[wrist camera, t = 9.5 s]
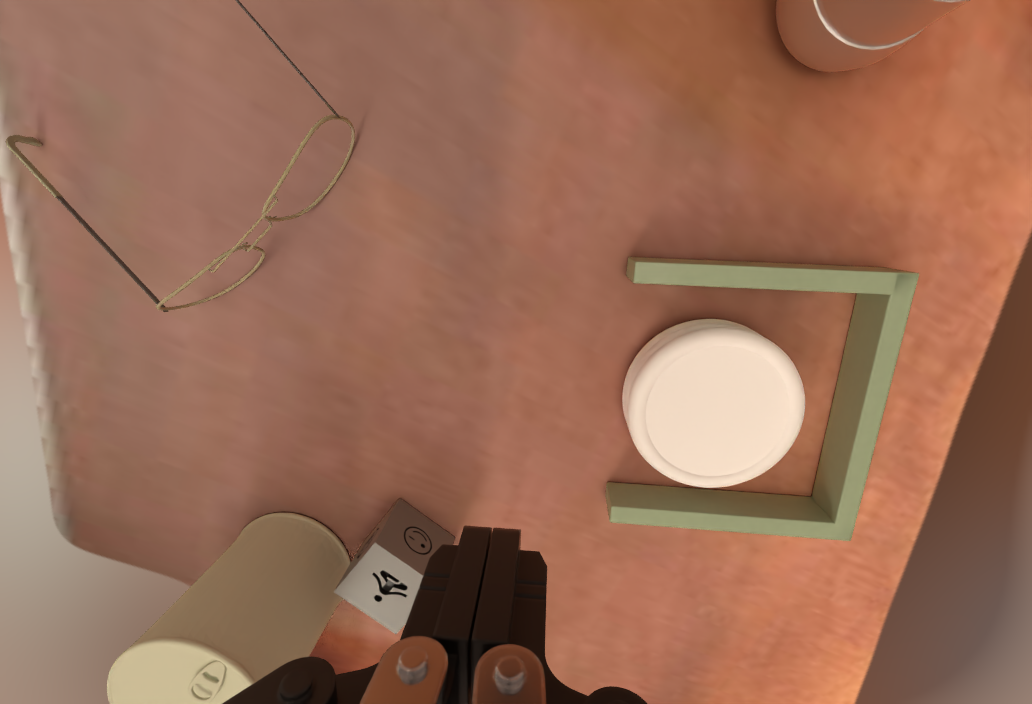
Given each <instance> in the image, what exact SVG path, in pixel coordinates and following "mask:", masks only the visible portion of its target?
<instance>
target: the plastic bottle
mask: <svg viewBox="0 0 1032 704" xmlns="http://www.w3.org/2000/svg"><path fill="white" fill-rule="evenodd" d="M968 1H970V0H777V1H776V21H777V26H778V31H779V34H780V37H781V39H782V42H783V44H784V45H785V47H786V48H787V50H788V51H789V53H790V54H791V55H792V56H793V57H794V58H795V59H796V60H797V61H799V62H800V63H802V64H804V65H805V66H807V67H809V68H812V69H815V70H818V71H823V72H839V71H847V70H853V69H860V68H863V67H866V66H869V65H872V64H875V63H877V62H879V61H881V60H882V59H884V58H886V57H888V56H889V55H891V54H892V53H894V52H895V51H897V50H898V49H900V48H901V47H902V46H904V45H905V44H906V43H908V42H909V41H910V40H912V39H913V38H914V37H915V36H917V35H918V34H919V33H920V32H921V31H922V30H924V29H925V28H926V27H927V26H929V25H930V24H932V23H934V22H935V21H937V20H938V19H940V18H942V17H943V16H945V15H947V14H948V13H950V12H951V11H953V10H955V9H956V8H958V7H959V6H961V5H963V4H964V3H966V2H968Z"/></svg>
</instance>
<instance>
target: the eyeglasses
mask: <svg viewBox="0 0 1032 704" xmlns="http://www.w3.org/2000/svg"><path fill="white" fill-rule="evenodd" d="M236 2H237V3H238V4H239V5H240V6H241V7H242V8H243V10H244V11H245V12H246V13H247V14H248V15H249V16H250V18H251V19H252V20H253V21H254V22H255V23H256V24H257V26H258V27H259V28H260V29H261V30H262V31H263V33H264V34H265V35H266V36H267V37H268V38H269V39H270V41H271V42H272V43H273V44H274V45H275V46H276V47H277V49H278V50H279V51H280V52H281V53H282V54H283V56H284V57H285V58H286V59H287V60H288V61H289V62H290V64H291V65H292V66H293V67H294V68H295V69H296V70H297V72H298V73H299V74H300V75H301V76H302V77H303V78H304V80H305V81H306V82H307V83H308V84H309V85H310V87H311V88H312V89H313V90H314V91H315V92H316V93H317V95H318V96H319V97H320V98H321V99H322V100H323V101H324V102H325V104H326V105H327V106H328V107H329V108H330V110H331V111H332V112H333V113H334V114H336V115H329V116H326V117H324V118H322V119H321V120H319V121H318V122H317V123H316V124H315V125H314V126H313V127H312V129H311V130H310V131H309V132H308V134H307V135H306V137H305V138H304V140H303V141H302V143H301V144H300V146H299V148H298V149H297V151H296V153H295V154H294V156H293V158H292V160H291V161H290V163H289V165H288V166H287V168H286V170H285V171H284V173H283V175H282V176H281V178H280V180H279V181H278V183H277V184H276V186H275V188H274V189H273V191H272V193H271V194H270V196H269V198H268V199H267V201H266V203H265V205H264V207H263V210H262V216H261V217H260V218H259V219H258V221H257V222H256V223H255V224H254V225H253V226H252V227H251V228H250V230H249V231H248V232H247V233H246V234H245V235H244V236H243V237H242V238H241V240H240V241H239V242H238V243H237V244H236V245H235V246H234V247H233V248H232V249H230V250H228V251H227V252H225V253H223V254H222V255H220V256H219V257H218V258H216V259H215V260H214V261H212V262H211V263H210V264H209V265H207V266H206V267H205V268H204V269H202V270H201V271H200V272H199V273H197V274H196V275H195V276H194V277H193V278H191V279H190V280H189V281H187V282H186V283H185V284H183V285H182V286H181V287H179V288H178V289H176V290H175V291H174V292H172V293H171V294H170V295H168V296H167V297H166V298H164V299H163V300H162V301H159V300H158V299H157V298H156V296H155V295H154V294H153V293H152V292H151V291H150V290H149V289H148V288H147V287H146V286H145V285H144V284H143V283H142V282H141V281H140V279H139V278H138V277H137V276H136V275H135V274H134V273H133V272H132V271H131V270H130V269H129V268H128V267H127V266H126V265H125V263H124V262H123V261H122V260H121V259H120V258H119V257H118V256H117V255H116V254H115V253H114V252H113V251H112V250H111V249H110V247H109V246H108V245H107V244H106V243H105V242H104V241H103V240H102V239H101V238H100V237H99V236H98V235H97V234H96V233H95V231H94V230H93V229H92V228H91V227H90V226H89V225H88V224H87V223H86V222H85V221H84V220H83V219H82V218H81V217H80V215H79V214H78V213H77V212H76V211H75V210H74V209H73V208H72V207H71V206H70V205H69V204H68V203H67V202H66V201H65V199H64V198H63V196H62V195H61V194H60V193H59V192H58V191H57V190H56V189H55V188H54V187H53V186H52V185H51V184H50V183H49V182H48V181H47V179H46V178H45V177H44V176H43V175H42V174H41V173H40V172H39V171H38V170H37V169H36V168H35V167H34V166H33V165H32V163H31V162H30V161H29V160H28V159H27V158H26V157H25V156H24V155H23V154H22V153H21V152H20V151H19V150H18V149H17V147H16V146H15V142H22V143H26V144H31V145H34V146H42V144H41V143H40V142H39V141H38V140H37V139H35V138H33V137H25V136H20V135H13V136H10V137H8V138H7V139H6V144H7V146H8V148H9V149H10V150H11V151H12V152H13V153H14V154H15V155H16V156H17V157H18V158H19V160H20V161H21V162H22V163H23V164H24V165H25V166H26V167H27V168H28V169H29V170H30V171H31V172H32V173H33V174H34V176H35V177H36V178H37V179H38V180H39V181H40V182H41V183H42V184H43V185H44V186H45V187H46V188H47V189H48V191H49V192H50V193H51V194H52V195H53V196H54V197H55V198H57V199H58V200H59V201H60V202H61V203H62V204H63V205H64V206H65V207H66V208H67V209H68V210H69V211H70V212H71V214H72V215H73V216H74V217H75V218H76V219H77V220H78V221H79V222H80V223H81V224H82V225H83V226H84V227H85V228H86V229H87V231H88V232H89V233H90V234H91V235H92V236H93V237H94V238H95V239H96V240H97V241H98V242H99V243H100V244H101V245H102V246H103V248H104V249H105V250H106V251H107V252H108V253H109V254H110V255H111V256H112V257H113V258H114V259H115V260H116V261H117V262H118V264H119V265H120V266H121V267H122V268H123V269H124V270H125V271H126V272H127V273H128V274H129V275H130V276H131V277H132V278H133V279H134V281H135V282H136V283H137V284H138V285H139V286H140V287H141V288H142V289H143V290H144V291H145V292H146V293H147V294H148V295H149V297H150V298H151V299H153V301H154V302H155V303H156V304H157V305H156V308H157V309H158V310H163V311H164V312H168V310H175V309H181V308H185V307H189V306H193V305H196V304H200V303H203V302H206V301H208V300H211V299H213V298H216V297H218V296H220V295H222V294H224V293H226V292H228V291H230V290H231V289H233V288H235V287H236V286H238V285H239V284H240V283H242V282H243V281H244V280H246V279H247V278H248V277H249V276H250V275H251V274H253V273H254V272H255V271H256V269H257V268H258V267H259V266H260V265H261V263H262V262H263V260H264V258H265V251H264V250H263V249H261V248H259V247H256V246H255V245H256V244H257V243H258V242H259V240H260V239H261V238H262V237H263V236H264V235H265V234H266V233H267V232H268V231H269V229H270V228H271V227H272V223H271V222H270V221H284V220H288V219H293V218H296V217H299V216H301V215H302V214H304V213H306V212H307V211H309V210H310V209H311V208H312V207H314V206H315V205H316V204H317V203H318V202H319V201H320V200H321V199H322V198H323V197H324V196H325V195H326V194H327V193H328V191H329V190H330V189H331V188H332V186H333V185H334V184H335V182H336V181H337V179H338V178H339V176H340V175H341V173H342V171H343V170H344V168H345V166H346V164H347V163H348V160H349V158H350V156H351V153H352V150H353V146H354V141H355V131H354V127H353V125H352V123H351V122H350V121H349V120H348V119H347V118H345V117H343V116H340V115H338V114H337V113H336V112H335V111H334V109H333V108H332V107H331V106H330V105H329V104H328V103H327V101H326V100H325V99H324V98H323V97H322V96H321V95H320V93H319V92H318V91H317V90H316V89H315V88H314V86H313V85H312V84H311V83H310V82H309V81H308V80H307V78H306V77H305V76H304V75H303V74H302V73H301V72H300V70H299V69H298V68H297V67H296V66H295V65H294V63H293V62H292V61H291V60H290V59H289V58H288V57H287V55H286V54H285V53H284V52H283V51H282V50H281V49H280V47H279V46H278V45H277V44H276V43H275V42H274V41H273V39H272V38H271V37H270V36H269V35H268V34H267V32H266V31H265V30H264V29H263V28H262V27H261V26H260V24H259V23H258V22H257V21H256V20H255V19H254V18H253V16H252V15H251V14H250V13H249V12H248V11H247V9H246V8H245V7H244V6H243V5H242V4H241V3H240V1H239V0H236ZM332 119H339V120H342V121H345V122H346V123H347V124H348V125H349V126H350V128H351V131H352V140H351V145H350V149H349V152H348V154H347V157H346V159H345V161H344V163H343V165H342V166H341V168H340V170H339V171H338V173H337V175H336V176H335V178H334V179H333V181H332V182H331V183H330V185H329V186H328V187H327V188H326V190H325V191H324V192H323V193H322V194H321V195H320V196H319V197H318V198H317V199H316V200H315V201H314V202H313V203H312V204H311V205H310V206H308V207H307V208H306V209H304V210H302V211H301V212H299V213H297V214H294V215H291V216H286V217H281V218H275V217H277V216H275V217H271V216H269V217H266V214H267V213H268V212H269V211H270V210H271V209H272V208H273V206H274V205H275V204H276V203H277V202H278V199H277V197H276V196H275V194H276V192H277V191H278V189H279V188H280V186H281V184H282V183H283V181H284V179H285V178H286V176H287V174H288V173H289V171H290V169H291V168H292V166H293V164H294V163H295V161H296V159H297V158H298V156H299V154H300V153H301V151H302V149H303V148H304V146H305V145H306V143H307V141H308V140H309V138H310V137H311V136H312V134H313V133H314V132H315V130H316V129H317V128H318V127H319V126H320V125H322V124H323V123H324V122H326V121H328V120H332ZM273 197H275V199H276V201H275V202H274V203H273V204H272V205H271V206H270V207H269V208H268V206H269V204H270V202H271V201H272V199H273ZM267 208H268V209H267ZM263 218H264V219H265V220H267V221H268V222H269V223H270V226H269V227H268V228H267V229H266V230H265V231H264V232H263V233H262V234H261V236H260V237H259V238H258V239H257V240H256V241H255V242H254V243H253V244H252V245H243V244H247V243H248V242H246V243H243V244H242V246H239V244H240V243H241V242H242V241H243V240H244V239H245V238H246V237H247V235H248V234H249V233H250V232H251V231H252V230H253V229H254V228H255V227H256V225H257V224H258V223H259V222H260V221H261V220H262V219H263ZM246 248H249V249H248V250H247V249H246ZM240 249H244V250H245V251H247V252H249V251H250V250H251V249H255V250H258V251H260V252H262V256H261V258H260V260H259V262H258V263H257V264H256V266H255V267H254V268H253V269H252V270H251V271H250V272H249V273H248V274H247V275H246V276H244V277H243V278H242V279H241V280H239V281H238V282H237V283H235V284H234V285H232V286H231V287H229V288H227V289H226V290H224V291H222V292H220V293H218V294H216V295H214V296H211V297H208V298H206V299H203V300H200V301H197V302H194V303H190V304H186V305H181V306H176V307H167V308H166V307H165V306H164V305H163V304H164V303H165V302H166V301H168V300H169V299H170V298H172V297H173V296H175V295H176V294H177V293H179V292H180V291H181V290H183V289H184V288H186V287H187V286H188V285H189V284H191V283H192V282H193V281H195V280H196V279H197V278H198V277H200V276H201V275H202V274H203V273H205V272H206V271H207V270H209V271H211V272H215V271H216V270H217V269H218V268H219V267H220V266H221V264H222V263H223V262H224V261H225V260H226V259H227V258H228V257H229V256H230V254H231V253H232V252H235V251H237V250H240ZM223 258H224V259H223ZM221 259H223V260H222V261H221V262H220V263H219V264H218V265H217V266H216V268H215V269H214V270H213V271H212V270H211V269H210V268H211V267H212V266H213V265H215V264H216V263H217V262H219V261H220V260H221Z"/></svg>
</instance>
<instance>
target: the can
mask: <svg viewBox="0 0 1032 704" xmlns="http://www.w3.org/2000/svg"><path fill="white" fill-rule="evenodd" d="M350 563H351V561H350V558H349V555H348V553H347V551H346V549H345V547H344V545H343V544H342V542H341V541H340V540H339V539H338V537H337V536H336V535H335V534H334V533H333V532H332V531H330V530H329V529H328V528H327V527H325V526H324V525H323V524H321V523H319V522H317V521H316V520H314V519H311V518H309V517H306V516H303V515H299V514H295V513H272V514H268V515H264V516H262V517H259V518H257V519H255V520H254V521H252V522H251V523H250V524H248V525H247V526H246V527H245V528H244V529H243V531H242V532H241V533H240V535H239V537H238V538H237V539H236V540H235V541H234V543H233V544H232V545H231V546H230V547H229V548H228V549H227V550H226V551H225V552H224V553H223V554H222V555H221V556H220V557H219V558H218V559H217V560H216V561H215V563H214V564H213V565H212V566H211V567H210V568H209V569H208V570H207V571H206V572H205V573H204V574H203V575H202V576H201V577H200V578H199V579H198V580H197V581H196V582H195V583H194V584H193V585H192V586H191V587H190V588H189V589H188V590H187V591H186V592H185V593H184V594H183V595H182V596H181V597H180V598H179V599H178V600H177V601H176V602H175V603H174V604H173V605H172V606H171V607H170V608H169V609H168V610H167V611H166V612H165V613H164V614H163V615H162V616H161V617H160V618H159V619H158V620H157V621H156V622H155V623H154V624H153V625H152V626H151V627H150V628H149V629H148V630H147V631H146V632H145V633H144V634H143V635H142V636H141V637H140V638H139V639H138V640H137V641H136V642H135V643H134V644H133V645H132V646H131V647H130V648H128V649H127V650H125V651H124V652H123V653H122V654H121V655H120V656H119V657H118V658H117V660H116V661H115V662H114V664H113V666H112V668H111V670H110V673H109V676H108V682H107V694H108V699H109V703H110V704H222V703H224V702H225V701H227V700H228V699H230V698H232V697H233V696H235V695H236V694H238V693H239V692H241V691H243V690H244V689H246V688H247V687H249V686H250V685H252V684H254V683H255V682H257V681H258V680H260V679H261V678H263V677H265V676H266V675H268V674H269V673H271V672H272V671H274V670H276V669H277V668H279V667H280V666H282V665H284V664H286V663H287V662H290V661H292V660H295V659H298V658H303V657H309V655H310V653H311V652H312V650H313V648H314V646H315V644H316V643H317V641H318V639H319V637H320V635H321V634H322V632H323V630H324V628H325V627H326V625H327V623H328V621H329V620H330V618H331V616H332V614H333V613H334V611H335V609H336V608H337V606H338V604H339V603H340V602H341V601H342V600H343V598H342V597H340V596H339V595H337V594H336V593H334V590H335V589H336V587H337V585H338V584H339V582H340V580H341V579H342V577H343V575H344V573H345V572H346V570H347V568H348V567H349V565H350Z"/></svg>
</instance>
